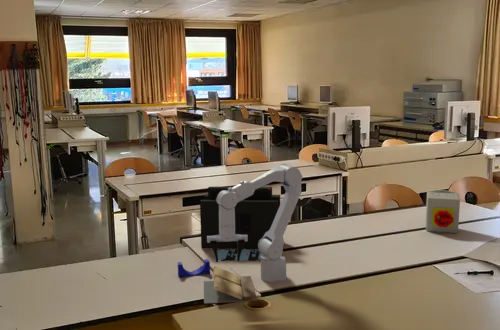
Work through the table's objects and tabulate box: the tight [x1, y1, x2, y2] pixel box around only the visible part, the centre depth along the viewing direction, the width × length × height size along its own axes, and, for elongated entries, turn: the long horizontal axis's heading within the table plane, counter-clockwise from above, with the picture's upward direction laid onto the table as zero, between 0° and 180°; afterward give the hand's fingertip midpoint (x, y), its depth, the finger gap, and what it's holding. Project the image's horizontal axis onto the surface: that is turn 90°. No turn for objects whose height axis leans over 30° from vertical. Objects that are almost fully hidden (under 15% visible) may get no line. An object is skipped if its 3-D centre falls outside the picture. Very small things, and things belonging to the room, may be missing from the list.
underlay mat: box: [203, 280, 258, 304], centre depth 189 cm, size 18×20×1 cm
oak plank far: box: [212, 266, 241, 286], centre depth 194 cm, size 10×8×1 cm
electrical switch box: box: [425, 189, 461, 234], centre depth 258 cm, size 15×15×20 cm
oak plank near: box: [213, 276, 243, 299], centre depth 183 cm, size 10×8×1 cm
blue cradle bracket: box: [177, 258, 211, 278], centre depth 206 cm, size 12×4×6 cm, turn 105°
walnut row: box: [239, 275, 257, 302], centre depth 190 cm, size 4×19×1 cm, turn 5°
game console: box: [199, 186, 281, 262], centre depth 235 cm, size 35×30×27 cm
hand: (227, 260), depth 193 cm, fingers open, 7 cm apart
